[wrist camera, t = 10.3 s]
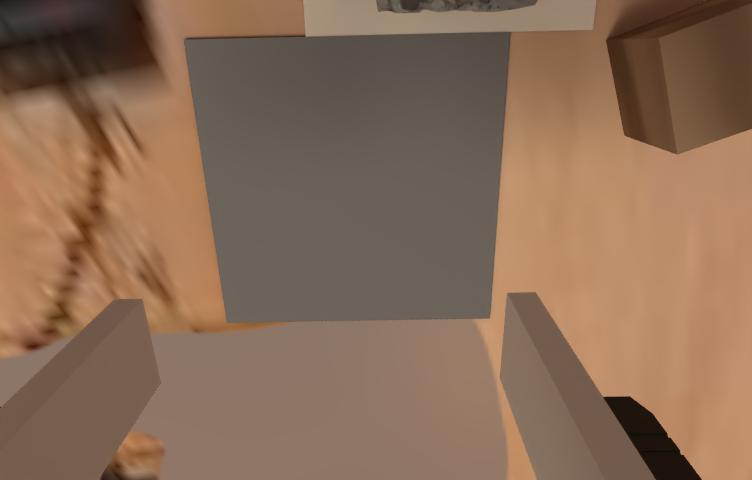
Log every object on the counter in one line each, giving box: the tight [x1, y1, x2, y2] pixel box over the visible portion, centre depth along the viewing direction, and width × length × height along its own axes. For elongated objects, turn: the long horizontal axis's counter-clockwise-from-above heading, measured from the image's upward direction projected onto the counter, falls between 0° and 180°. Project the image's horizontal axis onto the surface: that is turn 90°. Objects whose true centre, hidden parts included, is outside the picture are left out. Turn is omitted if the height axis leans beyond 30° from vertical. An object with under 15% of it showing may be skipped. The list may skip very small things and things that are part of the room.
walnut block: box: [606, 0, 752, 154], centre depth 22 cm, size 5×5×5 cm
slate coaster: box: [184, 32, 510, 323], centre depth 27 cm, size 16×16×1 cm
